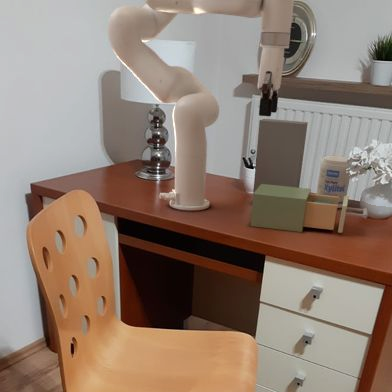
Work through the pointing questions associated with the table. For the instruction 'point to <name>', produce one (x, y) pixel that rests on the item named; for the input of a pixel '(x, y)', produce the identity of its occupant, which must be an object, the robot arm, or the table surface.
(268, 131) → the tall taupe upright panel
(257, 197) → the cabinet
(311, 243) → the table surface
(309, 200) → the drawer
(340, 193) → the supplement tub
